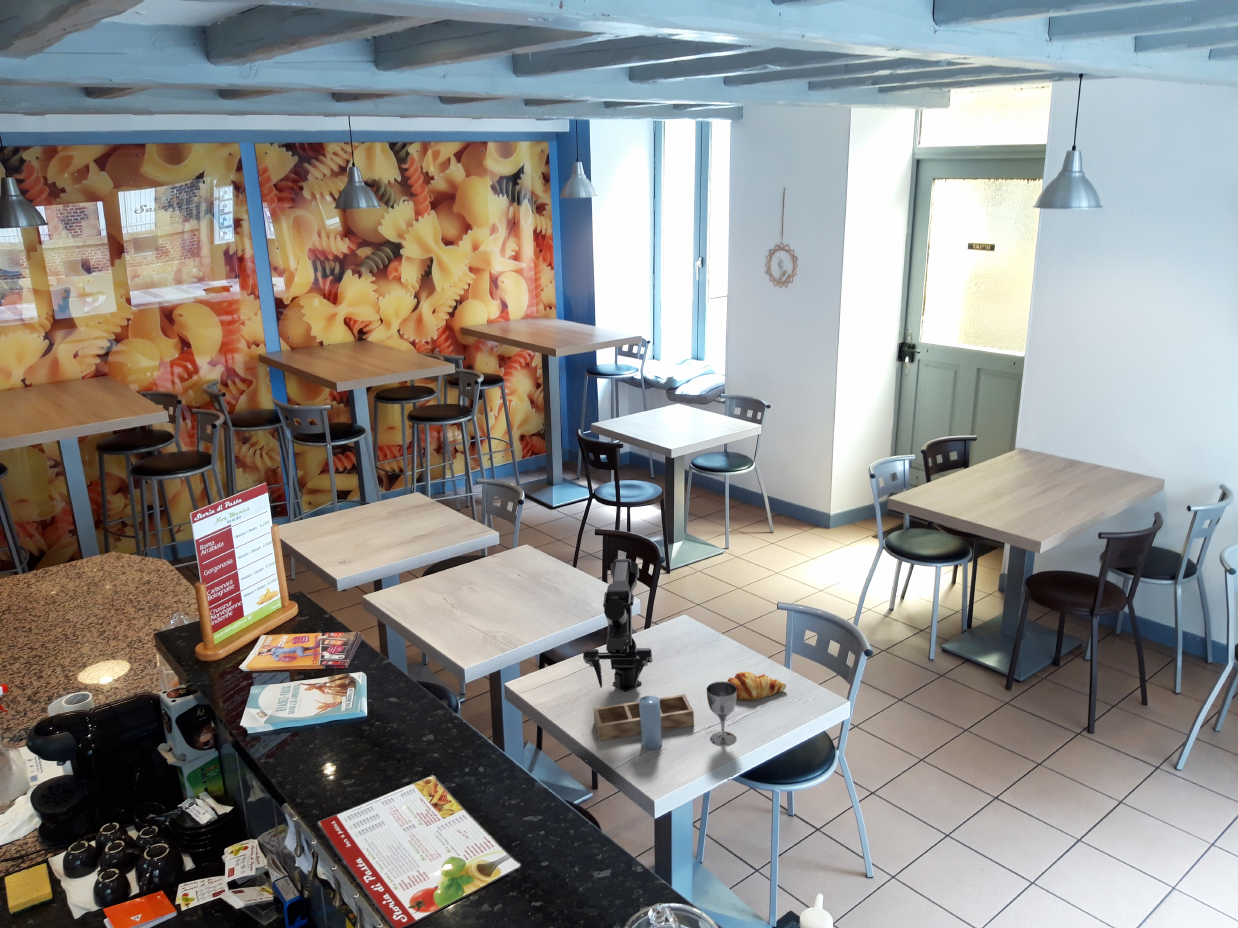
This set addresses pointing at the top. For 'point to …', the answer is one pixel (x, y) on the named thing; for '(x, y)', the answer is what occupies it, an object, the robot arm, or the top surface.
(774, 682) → the croissant
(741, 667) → the top surface
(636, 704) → the rack
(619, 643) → the robot arm
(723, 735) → the wine glass
